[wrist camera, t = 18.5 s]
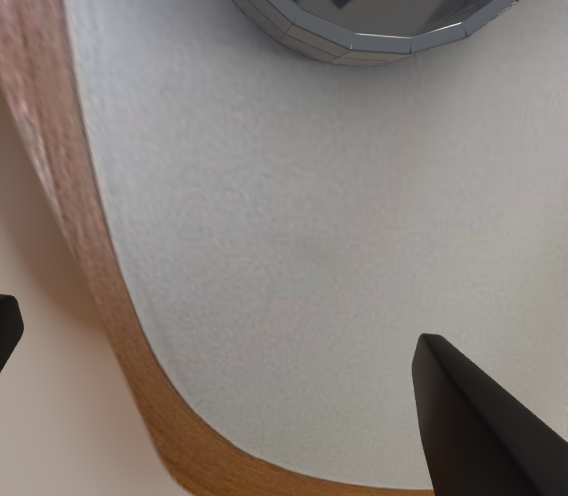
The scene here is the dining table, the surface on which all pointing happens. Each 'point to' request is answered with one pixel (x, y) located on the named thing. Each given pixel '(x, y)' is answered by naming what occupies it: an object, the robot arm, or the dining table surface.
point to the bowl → (369, 26)
